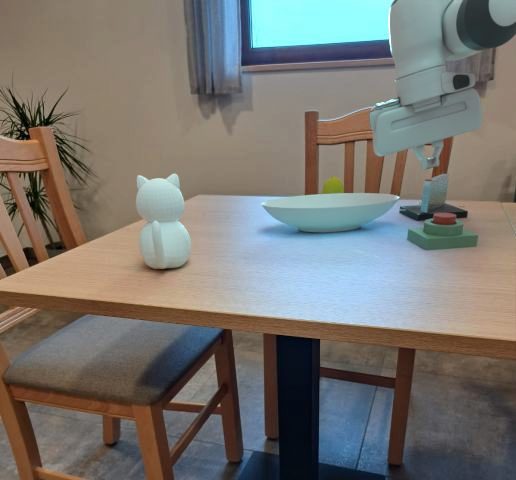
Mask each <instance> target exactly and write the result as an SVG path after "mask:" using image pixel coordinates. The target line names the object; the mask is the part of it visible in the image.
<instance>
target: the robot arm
mask: <svg viewBox="0 0 516 480" xmlns="http://www.w3.org/2000/svg"><path fill="white" fill-rule="evenodd" d="M388 36H389V37H388V38H389V46H390V47H389V48H390V54H391V57H392V59H393V62H394V68H395V71H394V72H395V73H394V82H395V83H394V84H395V91H396V92H395V93H396V97H395V98H392V99H389V100H386V101H384V102H378V103H376V104H375V105H374V107H372V108H371V109H370V111H369V113H368V123H369V127H370V129H371V130H372V149H373V153H374V154H375V155H376V156H378V157H385V156H389V155H392V154H396V153H399V152H403V151H406V150H409V149H412V151H413V152H412V153H413V154H414V155H415V157H416V158H417V159H418V161H419V162H420V167H421V170H422V171H425V170H429V169H433V168H437V167H440V155H441V153H442V151H443V148H444V140H446V139H448V138H452V137H455V136H460V135H463V134H466V133H470V132H473V131H477V130H479V129H480V128H481V126H482V124H483V119H484V118H483V109H482V102H481V98H480V94H479V92H478V90H476V89H475V88H473V87H474V86H475V85H476V76H475V74H474V73H472V72H471V73H469V72H455V71H447V66H446V62H455V61H460V60H464V59H466V58H468V57H472V56H474V55H476V54H479V53H481V52H483V51H484V52H485V51H487V50H491V49H494V48H498V47H501V46H503V45H505V44H506V43H508V42H510V41H511V40H512V39H513V38H514V37H515V36H516V0H393V1H392V2H391V3H390V6H389V9H388ZM427 144H431V148H433V152H432V155H431V157H428V158H427V157H426V156H425V154H424V153H423V152H425V150H426V149H425V145H427Z"/></svg>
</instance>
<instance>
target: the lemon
mask: <svg viewBox="0 0 516 480" xmlns="http://www.w3.org/2000/svg"><path fill="white" fill-rule="evenodd" d="M337 193H345V187H344V183H343V181H342V180H341V179H340V178H338V177H336V176H335V175H332V176H331V177H330V178H328V179H327V180H325V182H324V184H323V186H322V192H321V194H337Z"/></svg>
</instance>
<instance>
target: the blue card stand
mask: <svg viewBox="0 0 516 480" xmlns="http://www.w3.org/2000/svg"><path fill="white" fill-rule="evenodd" d="M449 180H450V174H449V173H441V174H438V175H436V176H433V177H430V178H425V179H424V180H423V187H422V195H421V202H420V205H421V209H420V213H429V212H431V211H433V210H435V209H437V208H439V207H441V206H443V205H445V203H446V200H447V193H448V187H449Z"/></svg>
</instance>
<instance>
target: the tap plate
mask: <svg viewBox="0 0 516 480" xmlns="http://www.w3.org/2000/svg"><path fill="white" fill-rule="evenodd" d="M416 203H417V204H415V205H413V204H412V205H400V206H399V213H400V214H402V215H403V216H405V217H408V218H410V219H412V220H415V221H416V222H425V220H427V219H432V218H433V215H434V214H435V213H452V214H455V215H456V219H466V218H468V215H469V211H468V210H465V209H463V208H464V207H466V205H459V206H458V207H457V206H454V205H452V204H449V203H446V202H445V205H443V206H441V207H439V208H437V209H435V210H433V211H431V212H429V213H420V209H421V202H420V201H416Z"/></svg>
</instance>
